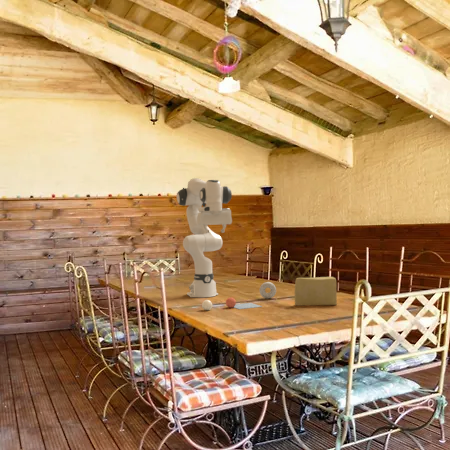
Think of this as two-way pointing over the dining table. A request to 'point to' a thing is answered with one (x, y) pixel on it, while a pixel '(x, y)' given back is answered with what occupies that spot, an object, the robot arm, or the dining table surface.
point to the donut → (267, 285)
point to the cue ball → (207, 305)
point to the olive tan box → (315, 291)
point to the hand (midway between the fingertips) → (215, 232)
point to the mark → (246, 306)
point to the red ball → (230, 302)
